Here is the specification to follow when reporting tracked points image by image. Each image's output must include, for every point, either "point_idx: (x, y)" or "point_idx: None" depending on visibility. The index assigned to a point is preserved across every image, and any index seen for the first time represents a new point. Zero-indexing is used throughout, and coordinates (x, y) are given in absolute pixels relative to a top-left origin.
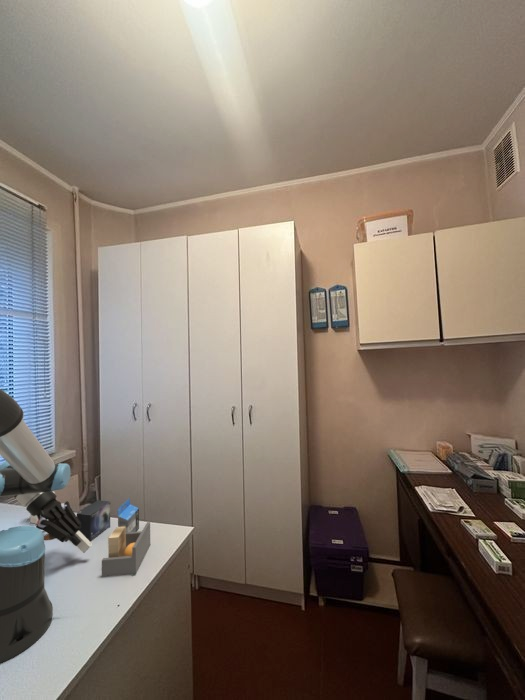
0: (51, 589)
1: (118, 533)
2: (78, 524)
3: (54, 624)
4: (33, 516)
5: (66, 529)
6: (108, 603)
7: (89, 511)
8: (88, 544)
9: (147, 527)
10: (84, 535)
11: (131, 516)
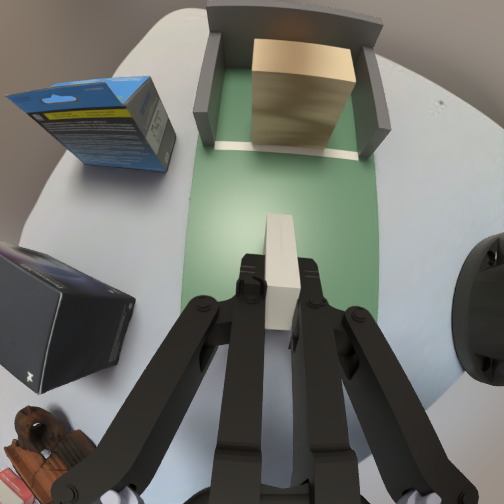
0: (396, 312)
1: (318, 51)
2: (215, 309)
3: (490, 226)
4: None
5: (335, 350)
6: (440, 123)
7: (27, 315)
8: (288, 222)
9: (243, 2)
10: (243, 259)
11: (114, 78)
